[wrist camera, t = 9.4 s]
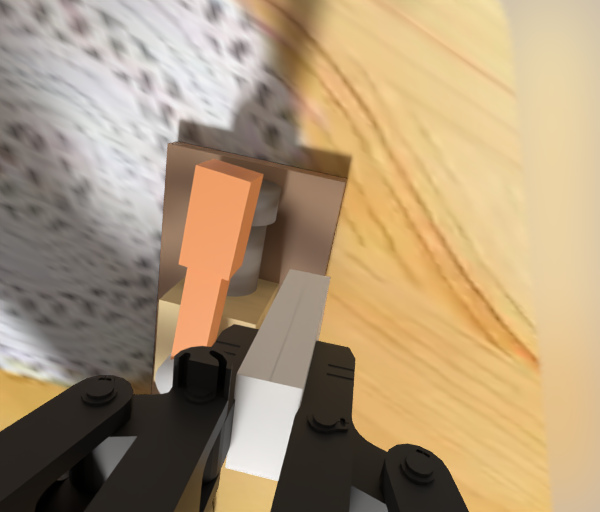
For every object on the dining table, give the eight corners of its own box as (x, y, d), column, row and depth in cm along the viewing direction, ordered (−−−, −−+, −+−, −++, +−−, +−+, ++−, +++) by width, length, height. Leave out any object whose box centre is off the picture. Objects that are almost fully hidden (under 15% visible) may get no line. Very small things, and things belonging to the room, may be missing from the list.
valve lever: (215, 389, 26) (201, 414, 24) (169, 373, 26) (151, 396, 24) (267, 175, 21) (255, 183, 19) (210, 157, 21) (191, 163, 19)
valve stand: (290, 431, 37) (265, 518, 29) (158, 393, 38) (101, 468, 30) (347, 178, 29) (333, 207, 21) (177, 141, 30) (106, 156, 22)
